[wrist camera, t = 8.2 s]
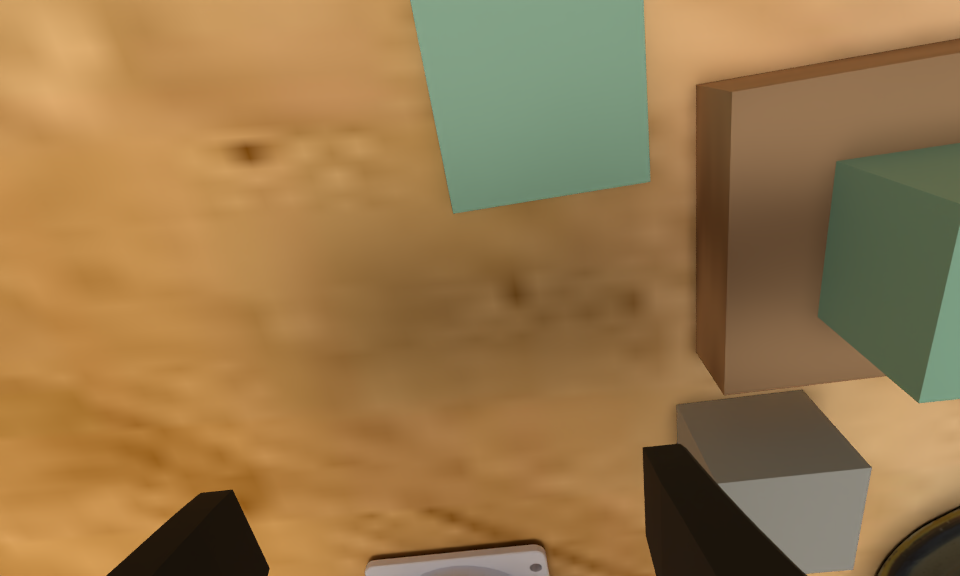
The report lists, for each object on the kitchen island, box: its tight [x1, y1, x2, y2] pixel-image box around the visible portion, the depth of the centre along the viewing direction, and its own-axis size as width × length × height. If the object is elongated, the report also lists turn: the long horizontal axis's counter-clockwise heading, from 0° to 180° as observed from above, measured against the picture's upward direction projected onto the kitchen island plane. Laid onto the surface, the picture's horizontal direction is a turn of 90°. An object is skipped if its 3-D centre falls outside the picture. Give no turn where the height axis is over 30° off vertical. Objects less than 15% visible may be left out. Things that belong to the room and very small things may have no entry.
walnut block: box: [696, 39, 960, 395], centre depth 15 cm, size 9×9×3 cm
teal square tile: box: [410, 0, 650, 214], centre depth 15 cm, size 6×6×1 cm
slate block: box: [677, 390, 872, 574], centre depth 19 cm, size 4×4×4 cm
